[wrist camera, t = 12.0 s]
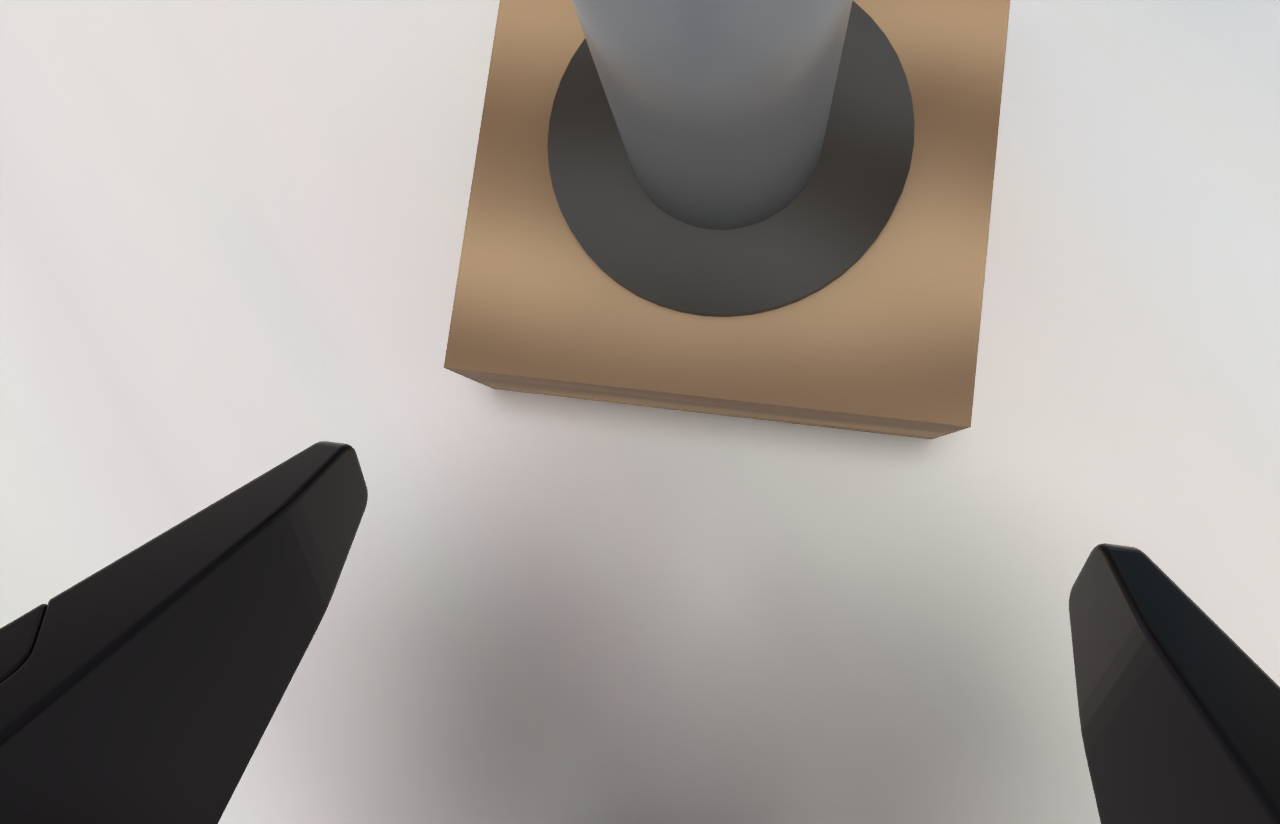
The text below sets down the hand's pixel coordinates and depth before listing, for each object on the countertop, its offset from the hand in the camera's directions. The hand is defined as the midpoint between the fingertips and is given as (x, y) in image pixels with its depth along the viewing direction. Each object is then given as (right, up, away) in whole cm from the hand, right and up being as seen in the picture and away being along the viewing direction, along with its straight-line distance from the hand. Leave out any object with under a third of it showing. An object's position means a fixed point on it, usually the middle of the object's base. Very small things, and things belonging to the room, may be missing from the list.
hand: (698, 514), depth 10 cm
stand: (+2, +8, +14) cm, 16 cm away
